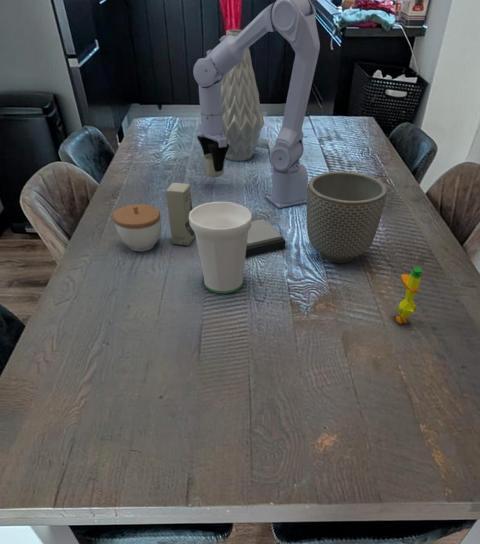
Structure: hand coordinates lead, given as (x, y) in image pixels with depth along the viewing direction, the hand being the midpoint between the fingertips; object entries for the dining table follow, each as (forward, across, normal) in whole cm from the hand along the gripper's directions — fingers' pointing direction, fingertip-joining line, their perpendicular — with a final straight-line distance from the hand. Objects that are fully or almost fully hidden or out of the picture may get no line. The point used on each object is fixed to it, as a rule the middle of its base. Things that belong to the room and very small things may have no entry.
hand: (214, 167), depth 136 cm
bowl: (+2, 0, 0) cm, 2 cm away
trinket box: (+6, +25, -30) cm, 39 cm away
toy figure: (+6, +77, +8) cm, 78 cm away
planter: (+6, +49, +11) cm, 50 cm away
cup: (+6, +49, -19) cm, 53 cm away
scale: (+6, +35, -5) cm, 36 cm away
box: (+6, +27, -20) cm, 34 cm away
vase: (+6, -20, +17) cm, 27 cm away
